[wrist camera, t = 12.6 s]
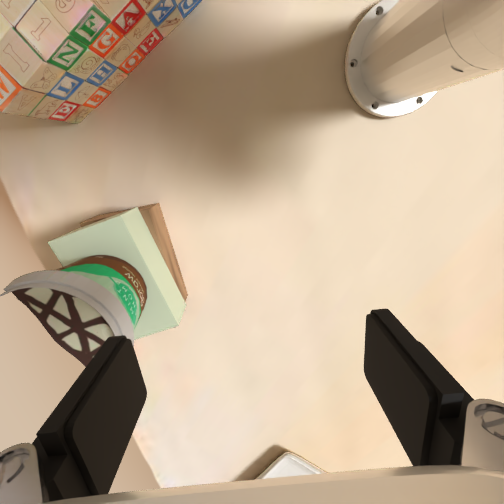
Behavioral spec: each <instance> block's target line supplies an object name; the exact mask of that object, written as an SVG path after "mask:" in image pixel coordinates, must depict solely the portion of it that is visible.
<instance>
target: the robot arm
mask: <svg viewBox="0 0 504 504" xmlns="http://www.w3.org/2000/svg"><path fill="white" fill-rule="evenodd" d="M376 12H377V13H378V15H376ZM350 63H352V64H353V67H351V65H350ZM503 69H504V0H381V1H380V2H378V3H377V4H376V5H374V6H373V7H372V8H371V9H370V10H369V11H368V12H367V13H366V14H365V16H364V17H363V18H362V19H361V21H360V22H359V23H358V25H357V27H356V28H355V30H354V32H353V34H352V36H351V39H350V41H349V44H348V47H347V52H346V56H345V76H346V82H347V85H348V89H349V91H350V93H351V95H352V97H353V99H354V100H355V101H356V103H357V104H358V105H359V106H360V107H361V108H362V109H364V110H365V111H366V112H368V113H370V114H372V115H374V116H379V117H383V118H390V117H398V116H402V115H405V114H408V113H411V112H413V111H415V110H417V109H419V108H420V107H421V106H423V105H424V104H425V103H427V102H428V101H429V100H430V99H431V98H432V97H433V96H434V95H435V93H436V92H437V91H438V90H441V89H444V88H447V87H451V86H454V85H457V84H460V83H463V82H466V81H469V80H472V79H475V78H479V77H482V76H485V75H488V74H491V73H494V72H497V71H500V70H503ZM416 100H417V103H416ZM372 104H373V105H374V108H372ZM364 373H365V376H366V379H367V381H368V382H369V384H370V386H371V388H372V390H373V392H374V394H375V396H376V397H377V399H378V401H379V403H380V405H381V407H382V409H383V411H384V412H385V414H386V416H387V418H388V420H389V422H390V424H391V425H392V427H393V429H394V431H395V433H396V435H397V437H398V439H399V440H400V442H401V444H402V446H403V448H404V450H405V452H406V453H407V455H408V457H409V459H410V461H411V463H412V465H413V466H411V467H396V468H381V469H368V470H356V471H345V472H334V473H322V474H311V475H299V476H288V477H277V478H266V479H256V480H245V481H234V482H224V483H213V484H202V485H192V486H182V487H172V488H162V489H152V490H143V491H132V492H122V493H114V494H108V492H109V490H110V488H111V485H112V482H113V480H114V478H115V475H116V473H117V470H118V468H119V465H120V463H121V460H122V458H123V455H124V453H125V450H126V448H127V445H128V443H129V440H130V438H131V435H132V433H133V430H134V428H135V426H136V423H137V421H138V418H139V416H140V413H141V411H142V408H143V406H144V403H145V401H146V397H147V390H146V387H145V383H144V380H143V377H142V374H141V370H140V367H139V364H138V361H137V357H136V354H135V351H134V348H133V344H132V341H131V339H127V337H126V336H124V335H121V336H111V337H108V338H107V339H106V341H105V342H104V343H103V345H102V346H101V348H100V349H99V350H98V352H97V353H96V354H95V356H94V357H93V358H92V360H91V361H90V362H89V364H88V365H87V366H86V368H85V369H84V370H83V372H82V373H81V375H80V376H79V377H78V379H77V380H76V381H75V383H74V384H73V385H72V387H71V388H70V389H69V391H68V392H67V393H66V395H65V396H64V397H63V399H62V400H61V401H60V403H59V404H58V406H57V407H56V408H55V410H54V411H53V412H52V414H51V415H50V416H49V418H48V419H47V420H46V422H45V423H44V424H43V426H42V427H41V428H40V430H39V431H38V432H37V438H36V439H35V440H34V442H33V443H32V444H30V443H21V444H17V445H14V446H12V447H9V448H7V449H5V450H3V451H2V452H0V504H504V404H503V403H501V402H498V401H494V400H490V399H477V400H474V399H473V398H472V397H471V396H470V395H469V394H468V393H467V392H466V391H465V390H464V388H463V387H462V386H461V385H460V384H459V383H458V382H457V381H456V380H455V379H454V378H453V377H452V375H451V374H450V373H449V372H448V371H447V370H446V369H445V368H444V367H443V366H442V365H441V364H440V362H439V361H438V360H437V359H436V358H435V357H434V356H433V355H432V354H431V353H430V352H429V351H428V349H427V348H426V347H425V346H424V345H423V344H422V343H420V342H418V341H417V340H416V339H415V338H414V337H413V336H412V335H411V334H410V333H409V331H408V330H407V329H406V328H405V327H404V326H403V325H402V324H401V323H400V322H399V320H398V319H397V318H396V317H395V316H394V315H393V314H392V313H391V312H390V311H389V310H388V309H378V310H372V311H371V312H370V314H368V315H367V316H366V333H365V354H364Z"/></svg>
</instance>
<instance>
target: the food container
mask: <svg viewBox="0 0 504 504" xmlns="http://www.w3.org/2000/svg"><path fill="white" fill-rule="evenodd" d="M4 290H5V291H6V292H4V293H3V294H1V295H0V296H2V295H5V294H7V293H9V292H12V293H13V294H14V295H15V296H16V297H17V298H18V300H20V301H21V302H22V303H23V304H25V305H26V306H27V307H28V308H29V309H30V311H31V312H32V313H33V314H34V315H35V316H36V317H37V318H38V319H39V321H40V322H41V323H42V325H43V326H44V327H45V329H46V330H47V332H48V333H49V334H50V335H51V337H52V338H53V339H54V340H55V341H56V342H57V343H58V344H59V345H60V346H61V347H63V348H64V349H65V350H66V351H68V352H69V353H70V354H72V355H73V356H74V357H76V358H77V359H78V360H79V361H80V362H81V363H82V364H83V365H85V367H86V366H87V365H88V364H89V362H90V361H91V360H92V358H93V357H94V356H95V354H96V353H97V352H98V350H99V349H100V348H101V346H102V345H103V343H104V342H105V341H106V339H107V338H108V337H111V336H121V335H124V336H126V337H127V339H131V341H132V344H133V346H134V330H135V328H136V325H137V323H138V321H139V319H140V316H141V314H142V312H143V310H144V307H145V304H146V300H147V286H146V284H145V281H144V279H143V277H142V276H141V274H140V273H139V272H138V270H137V269H136V268H135V267H133V266H132V265H131V264H130V263H128V262H126V261H125V260H122V259H120V258H118V257H114V256H110V255H93V256H89V257H86V258H83V259H81V260H78V261H76V262H74V263H71V264H69V265H67V266H64V267H62V268H59V269H57V270H44V271H37V272H32V273H29V274H26V275H23V276H20V277H18V278H16V279H15V280H13V281H12V282H11V283H10V284H9V285H8V286H7V287H6V288H5V289H4Z"/></svg>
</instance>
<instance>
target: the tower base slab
mask: <svg viewBox="0 0 504 504" xmlns="http://www.w3.org/2000/svg"><path fill="white" fill-rule="evenodd" d="M132 209H133V208H132ZM138 209H139V211H140V213H141V215H142V217H143V219H144V221H145V223H146V225H147V227H148V229H149V231H150V233H151V235H152V237H153V239H154V241H155V243H156V245H157V247H158V249H159V251H160V253H161V255H162V257H163V259H164V261H165V263H166V265H167V267H168V269H169V271H170V273H171V275H172V277H173V279H174V281H175V283H176V285H177V287H178V289H179V291H180V293H181V295H182V297H183V299H184V301H186V298H187V296H188V294H187V291H186V287H185V284H184V281H183V278H182V275H181V272H180V268H179V265H178V262H177V259H176V256H175V252H174V249H173V246H172V243H171V240H170V236H169V233H168V230H167V227H166V224H165V221H164V217H163V214H162V211H161V208H160V205H159V203H157V204H152V205H147V206H142V207H138ZM127 210H130V209H127ZM127 210H122V211H117V212H113V213H108V214H103V215H98V216H96V217H93V218H91V219H89V220H86V221H84V222H82V223H80V225H81V227H84V226H87V225H89V224H92V223H95V222H97V221H100V220H103V219H106V218H108V217H111V216H114V215H116V214H119V213H122V212H125V211H127Z"/></svg>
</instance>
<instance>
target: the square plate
mask: <svg viewBox="0 0 504 504" xmlns="http://www.w3.org/2000/svg"><path fill="white" fill-rule="evenodd" d="M322 473H327V472H325V471H323V470H322V469H320V468H318V467H317V466H315V465H313V464H312V463H310V462H308V461H307V460H305V459H303V458H301V457H299V456H297V455H295V454H293V453H291V452H286V453H284V454H283V455H281V456H280V457H279V458H277V459H276V460H275V461H274V462H273V463H272V464H271V465H270V466H269V467H268V468H267V469H266V470H265V471H264V472H263V473H261V474H260V475H259V476H258V477H257V478H256V479H266V478H277V477H288V476H299V475H311V474H322ZM256 479H255V480H256Z"/></svg>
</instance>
